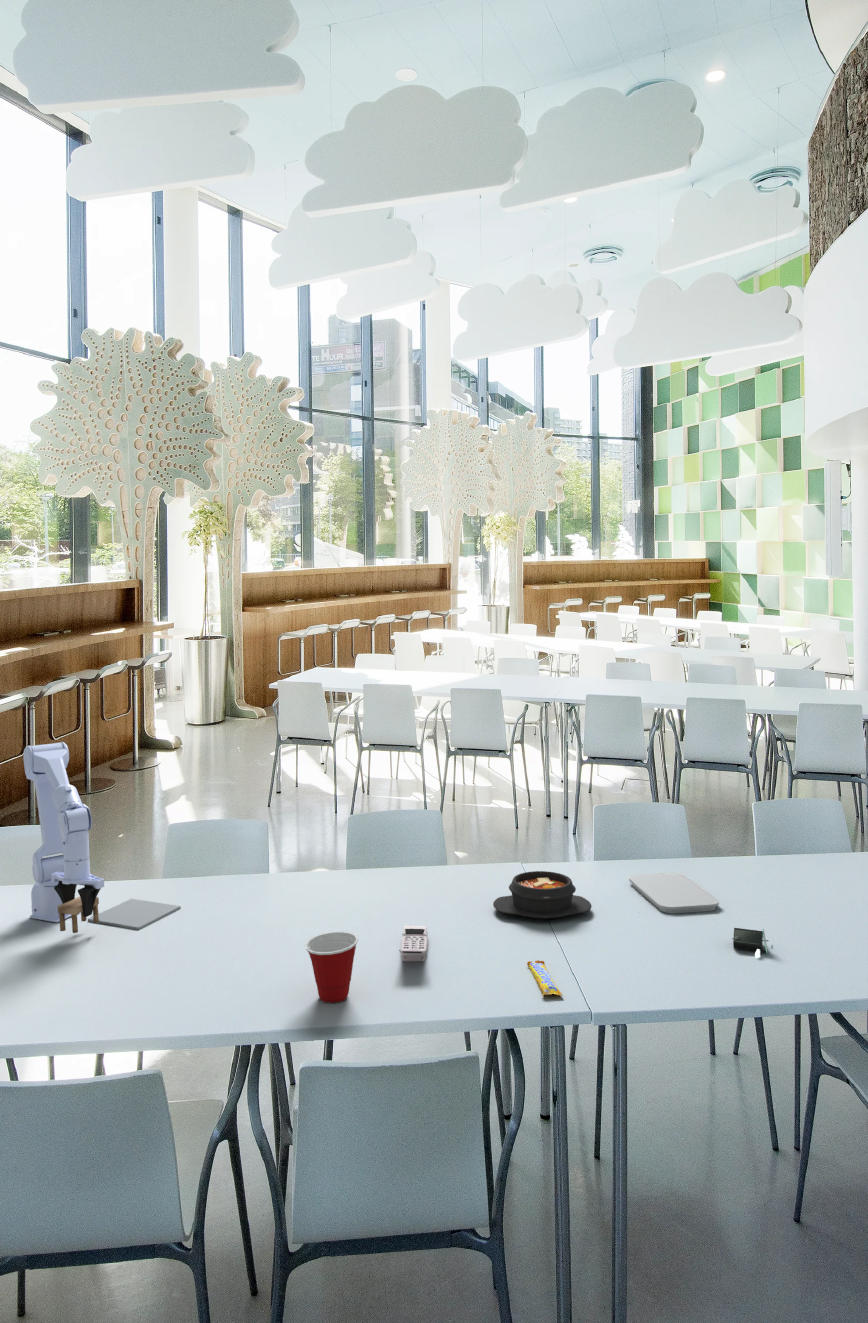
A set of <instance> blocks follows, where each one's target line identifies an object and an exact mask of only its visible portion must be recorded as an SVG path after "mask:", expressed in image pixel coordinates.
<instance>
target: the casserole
mask: <svg viewBox="0 0 868 1323" xmlns="http://www.w3.org/2000/svg"><path fill="white" fill-rule="evenodd" d="M511 880H512V881H511V883H510V884H509V885H508V890H509V891H510V893H511V895H506V896H505V895H504V896H500V897H497V898H496V899H495V900H494V901H493V904H492V905H493V908H494V909H495V910H496V911H498V912H500V913H501V914H505V915H506V914H507V915H515V916H524V917H528V918H532V919H539V920H541V919H542V920H546V919H548V920H549V919H557V918H562V917H566V916H570V915H571V916H572V915H577V914H583V913H587V912H589V911H590V910H591V909H592V907H593V906H592V904H591V902H590V901H589V900H588V899H586V898H585V897H583V896H581V895H574V894H575V892H576V890H577V889H576V886H575V885H574V884H573V880H572V879H571V878H570V877H569V876H568V875H565V874H563V873H562V874H561V873H558V872H554V871H545V870H543V871H542V870H540V871H539V870H536V871H527V872H522V873H519V874H516V875H515V876H513V878H512V879H511Z"/></svg>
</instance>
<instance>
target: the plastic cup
mask: <svg viewBox="0 0 868 1323" xmlns="http://www.w3.org/2000/svg"><path fill="white" fill-rule="evenodd" d="M358 941H359V937H358V936H357V934H354V933H352V932H348V931H347V932H346V931H330V932H325V933H321V934H318V935H315V936H313V937H311V938H310V939H308V940H307V941H306V942H305V944H304V947H305V950H306V952H307V953H308V955H309V958H310V961H311V965H312V966H311V967H312V970H313V971H312V972H313V974H314V980H315V984H316V986H317V987H316V988H317V993H318V994H317V995H318V997H319V1000H320V999H321V1000H322V1002H323V1001H325V1002H324V1003H326V1002H331V1003H330V1004H335V1003H334V1002H339V1003H341V1002H340V1001H342V1002H344V1001H345V1000H347V999H346V998H348V997H347V996H349V993H350V987H351V986H350V985H351V981H352V976H353V975H352V974H353V973H352V972H353V968H354V965H353V964H354V958H355V955H356V948H357V944H358ZM344 999H345V1000H344ZM321 1000H320V1001H321Z"/></svg>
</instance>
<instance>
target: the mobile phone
mask: <svg viewBox="0 0 868 1323" xmlns="http://www.w3.org/2000/svg"><path fill="white" fill-rule="evenodd" d="M427 928H428V927H427V926H425V925H418V926H417V925H405V926H403V931H402V934H401V935H402V936H401V937H402V938H401V944H400V946H401V947H400V949H399V950H398V951H399V954H400V958H401V961H402V962H425V960H426V957H427V952H428V929H427Z"/></svg>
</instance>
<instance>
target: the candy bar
mask: <svg viewBox="0 0 868 1323" xmlns="http://www.w3.org/2000/svg"><path fill="white" fill-rule="evenodd" d="M526 965H527V967H528V968H529V970H530V972H531V974H532V976H533V979H534V980H535V982H537V983H536V984H538V985H537V986H538V988H539V990H540V993H541V996H542V997H543V996H544V995H546V996H563V993H562V992H561V991H560V989H559V988H558V987H557V985H556V983H555V981H554V979H552V977H551V975H550V974H549V971H548V969H547V967H546V964H545V961H544V960H539V959H538V960H535V961H534V962H532V961H527V963H526ZM552 994H554V995H552ZM544 997H545V996H544Z"/></svg>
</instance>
